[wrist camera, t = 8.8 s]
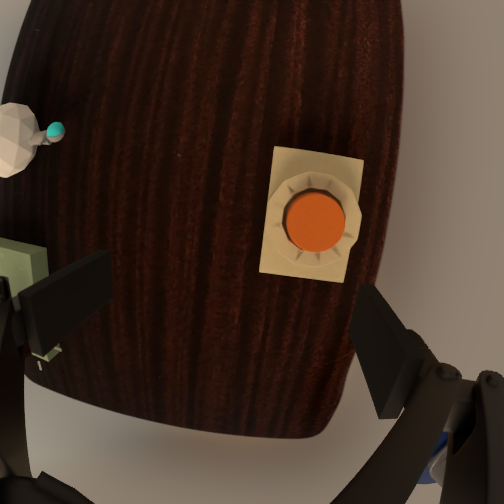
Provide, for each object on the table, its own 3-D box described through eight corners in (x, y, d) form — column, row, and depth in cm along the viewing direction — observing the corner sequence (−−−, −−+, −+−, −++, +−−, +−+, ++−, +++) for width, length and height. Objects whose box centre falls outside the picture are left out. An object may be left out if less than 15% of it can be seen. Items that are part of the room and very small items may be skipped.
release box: (338, 274, 26) (347, 291, 22) (260, 263, 27) (257, 279, 23) (357, 161, 24) (370, 159, 20) (274, 148, 24) (273, 143, 20)
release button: (335, 249, 22) (339, 256, 20) (282, 242, 22) (282, 248, 21) (344, 196, 21) (349, 198, 19) (289, 188, 21) (290, 189, 20)
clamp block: (81, 369, 33) (69, 383, 30) (17, 341, 33) (4, 351, 30) (65, 251, 28) (48, 259, 25) (-1, 237, 29) (-17, 242, 26)
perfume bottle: (-7, 99, 21) (71, 73, 21) (13, 154, 27) (88, 140, 28) (-48, 137, 16) (28, 108, 16) (-19, 196, 22) (57, 186, 23)
